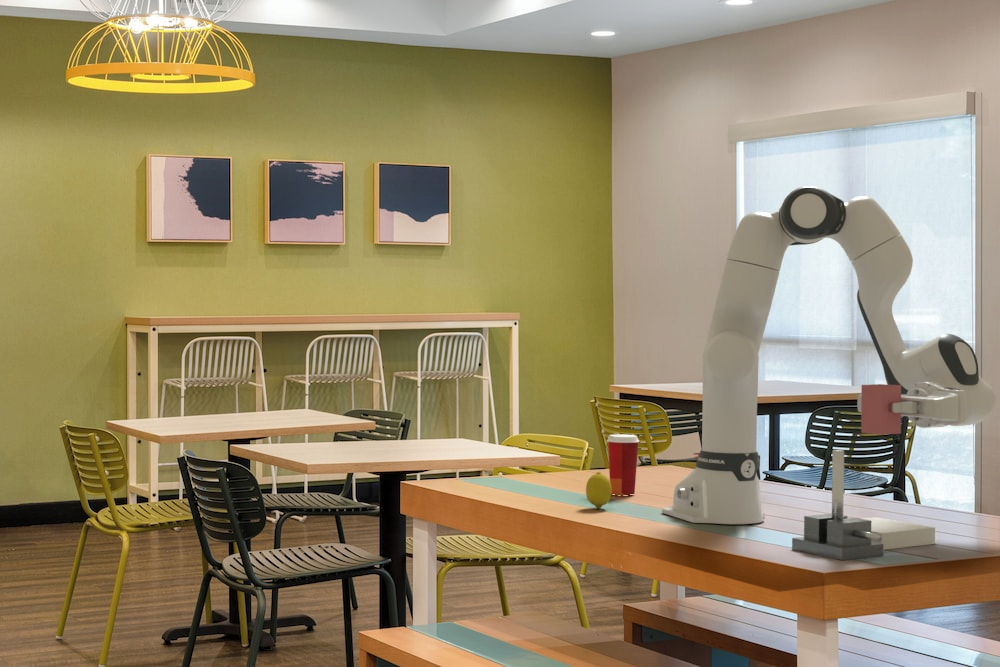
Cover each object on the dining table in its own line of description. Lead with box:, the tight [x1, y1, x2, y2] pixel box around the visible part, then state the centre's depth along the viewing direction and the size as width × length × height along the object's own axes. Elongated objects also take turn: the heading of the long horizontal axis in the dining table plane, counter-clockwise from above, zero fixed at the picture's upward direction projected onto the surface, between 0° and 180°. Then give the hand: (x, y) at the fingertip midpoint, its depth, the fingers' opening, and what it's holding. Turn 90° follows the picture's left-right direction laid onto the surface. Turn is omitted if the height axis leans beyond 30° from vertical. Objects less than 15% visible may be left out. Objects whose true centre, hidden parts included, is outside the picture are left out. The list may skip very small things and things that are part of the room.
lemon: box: [585, 471, 612, 510], centre depth 267 cm, size 6×6×8 cm
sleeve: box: [860, 383, 902, 436], centre depth 230 cm, size 5×5×9 cm
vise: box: [791, 449, 884, 561], centre depth 216 cm, size 16×10×18 cm, turn 30°
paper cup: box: [606, 433, 640, 495], centre depth 290 cm, size 8×8×14 cm
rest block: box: [861, 516, 936, 551], centre depth 230 cm, size 14×14×3 cm
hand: (877, 406), depth 230 cm, fingers closed on sleeve, 5 cm apart
